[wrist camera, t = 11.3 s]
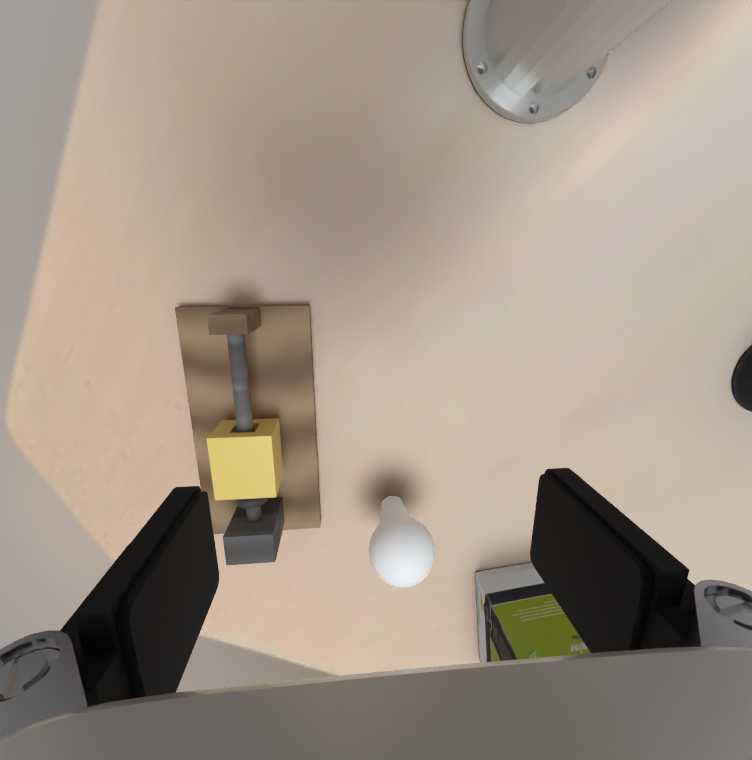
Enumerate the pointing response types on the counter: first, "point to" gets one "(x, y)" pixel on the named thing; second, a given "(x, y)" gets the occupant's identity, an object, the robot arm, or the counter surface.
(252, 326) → the cable rail
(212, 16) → the counter surface
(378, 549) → the lightbulb
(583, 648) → the tea box
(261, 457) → the sleeve
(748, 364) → the milk frother
